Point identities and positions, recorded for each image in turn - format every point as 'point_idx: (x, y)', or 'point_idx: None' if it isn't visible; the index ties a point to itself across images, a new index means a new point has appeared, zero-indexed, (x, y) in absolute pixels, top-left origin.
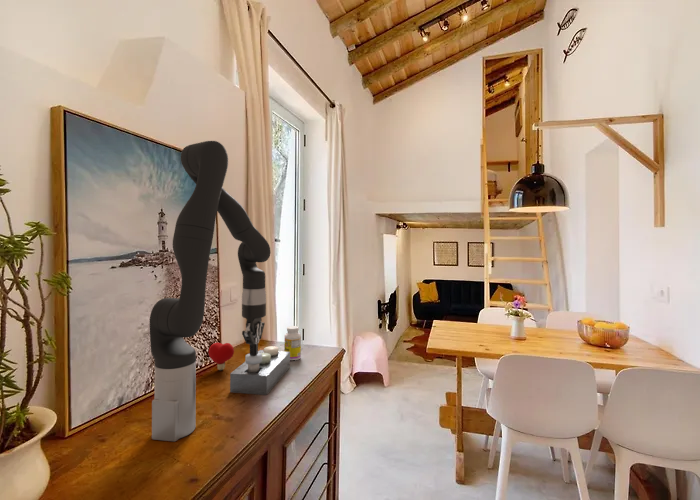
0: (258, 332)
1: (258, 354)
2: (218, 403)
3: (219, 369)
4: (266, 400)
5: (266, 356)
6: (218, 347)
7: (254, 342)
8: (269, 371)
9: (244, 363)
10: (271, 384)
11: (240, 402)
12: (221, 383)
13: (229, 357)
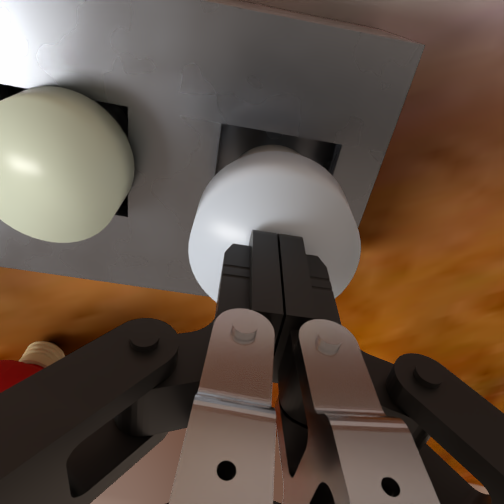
0: (266, 484)
1: (244, 217)
2: (429, 263)
3: (62, 354)
4: (463, 11)
5: (64, 137)
6: None
7: (432, 371)
8: (311, 40)
9: (139, 277)
10: (290, 12)
11: (447, 169)
12: (206, 306)
13: (26, 371)
